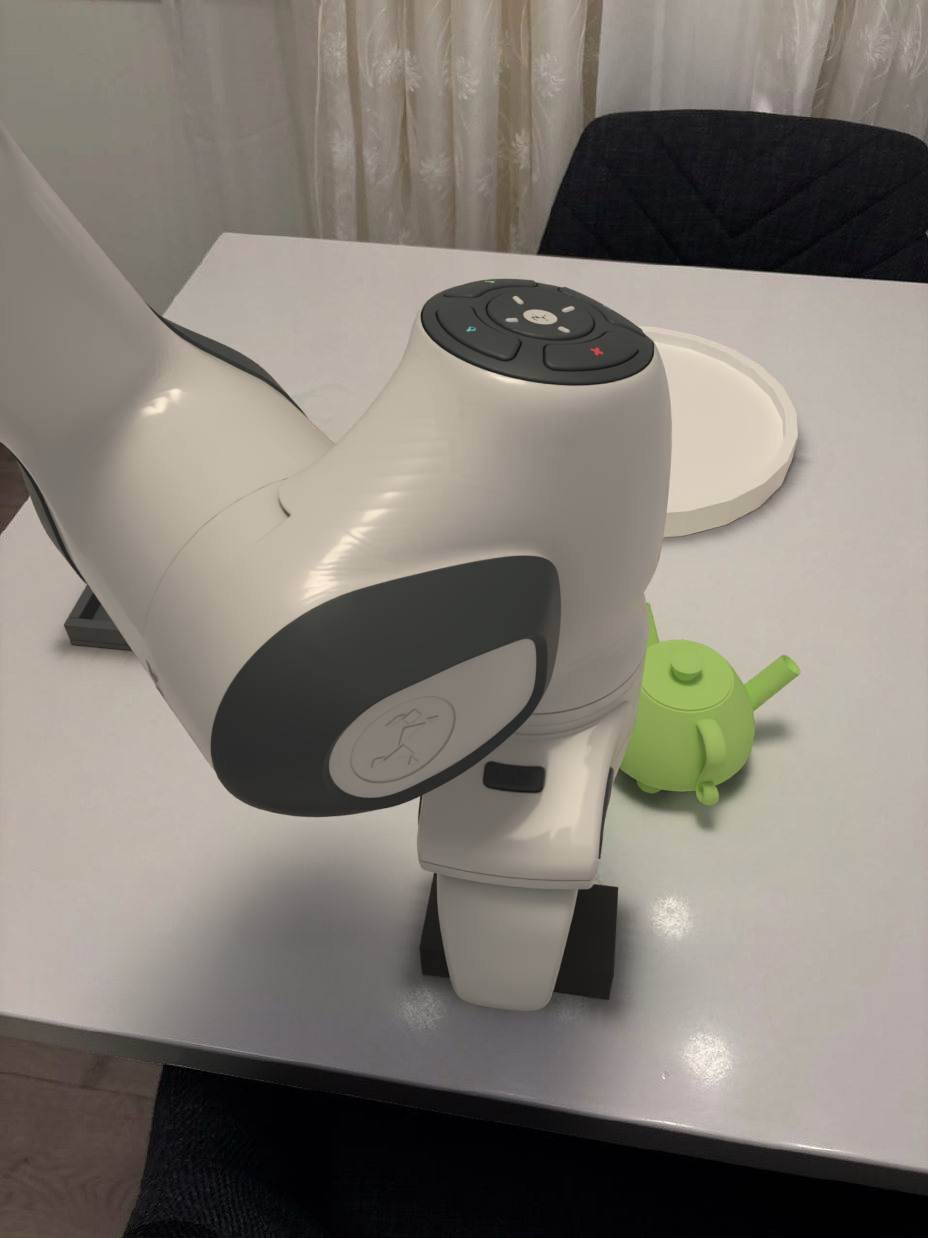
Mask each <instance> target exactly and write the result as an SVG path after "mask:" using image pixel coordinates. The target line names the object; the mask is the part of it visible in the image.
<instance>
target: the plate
mask: <svg viewBox="0 0 928 1238" xmlns="http://www.w3.org/2000/svg"><path fill="white" fill-rule="evenodd" d="M637 326H638V327H639V328H641V329H642V331H643V333H644V334H646V335H647V336H648V337H649V338H650V339H651V340H652V341H653V342H654V343H655V345H656V347H657V349H658V351H659V353H660V356H661V359H662V361H663V364H664V367H665V372H666V376H667V380H668V386H669V393H670V401H671V413H672V456H671V473H670V486H669V496H668V505H667V513H666V522H665V529H664V536H663V538H672V537H685V536H690V535H693V534H696V533H700V532H705V531H708V530H711V529H716V528H719V527H723V526H727V525H729V524H730V523H732V522H734V521H736V520H738V519H740V518H742V517H744V516H746V515H747V514H749V513H752V512H754V511H755V510H757V509H759V508H760V507H762V505H763V504H764V503H765V502H767V500H769V498H770V497H771V496H772V495H773V494H774V493H776V492H777V490H778V489H780V488H781V486H782V485H783V483H784V480H785V478H786V476H787V473H788V471H789V468H790V466H791V463H792V461H793V458H794V453H795V450H796V446H797V442H798V437H799V431H798V416H797V410H796V408H795V405H794V403H793V402H792V400H791V398H790V397H789V395H788V392H787V391H786V389H785V387H784V386H783V385H782V384H781V383H780V382H779V381H778V380H777V379H776V378H775V377H773V375H772V374H770V372H768V371H767V370H766V368H764V367H763V366H762V365H761V364H759V363H757V362H756V361H754V360H752V359H751V358H749V357H747V356H745V355H744V354H742V353H740V352H739V351H737V350H735V349H734V348H732V347H729V346H726V345H724V344H721V343H719V342H716V341H713V340H710V339H708V338H705V337H703V336H700V335H696V334H692V333H688V332H683V331H678V330H673V329H669V328H663V327H659V326H658V327H657V326H647V325H645V326H644V325H637Z"/></svg>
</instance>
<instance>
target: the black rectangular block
mask: <svg viewBox="0 0 928 1238" xmlns="http://www.w3.org/2000/svg"><path fill="white" fill-rule="evenodd" d="M431 881H432V882H431V885H430V892H429V895H428V896H429V897H428V900H427V905H426V911H425V916H424V920H423V921H424V922H423V928H422V931H421V937H420V941H419V947H418V948H419V957H420V965H421V966H420V968H421V974H422V976H430V977H437V978H445V979H450V975H449V970H448V966H447V961H446V957H445V951H444V946H443V940H442V935H441V929H440V922H439V914H438V903H437V873H433V876H432V880H431ZM618 902H619V887H618V886H612V885H605V884H597V883H594V885H593V886H592V887H591V888H590V889H578V893H577V898H576V903H575V908H574V912H573V917H572V921H571V925H570V929H569V933H568V937H567V941H566V945H565V949H564V953H563V957H562V961H561V965H560V969H559V972H558V976H557V979H556V983H555V987H554V990H553V993H555V994H556V993H557V994H564V995H570V996H571V995H572V996H577V997H578V996H579V997H587V998H593V999H601V1000H607V1001H608V1000H610V998H611V992H612V988H613V981H614V976H615V960H616V959H615V958H616V942H617V941H616V940H617V921H618Z"/></svg>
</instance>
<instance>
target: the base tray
mask: <svg viewBox="0 0 928 1238" xmlns="http://www.w3.org/2000/svg"><path fill="white" fill-rule="evenodd" d="M63 627H64V630H65V631H66V634H67V636H68V639H69V643H70V644H71V645H73V646H74V645H75V646H85V647H93V648H104V649H115V650H124V651H125V650H126V651H132V649H131V648H130V646H129V645H128V643H127V642H126V640H125V639H124V637H123V636H122V634H121V633H120V631H119V630H118V628H117V627H116V625H115V624H114V622H113V621H112V619H111V618H110V616H109V615H108V613H107V612H106V610H105V609H104V607H103V606H102V604H101V603H100V601H99V600H98V599H97V597H96V596H95V594H94V593H93V591H92V590H91V588H90V587H89V586H88V585H87V584H86V585H85V587H84V589H83V591H82V592H81V594H80V596H79V598H78V600H77V601H76V603H75V605H74V606H73V608H72V609H71V611H70V613H69V615H68V617H67V618H66V619H65V621H64V623H63Z"/></svg>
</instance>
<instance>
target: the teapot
mask: <svg viewBox="0 0 928 1238" xmlns="http://www.w3.org/2000/svg"><path fill="white" fill-rule="evenodd" d="M646 603H647V607H648V612H649V639H648V647H647V653H646V659H645V666H644V673H643V681H642V688H641V695H640V702H639V708H638V715H637V721H636V724H635V728H634V730H633V733H632V735H631V737H630V739H629V742H628V746H627V749H626V752H625V755H624V758H623V760H622V763H621V765H620V768H619V770H621V771H622V772H623V773H625V774H627V776H629V777H631V778H632V779H634V780H636V784H637V787H638V788H639V789H640V790H641V791H642V792H644V793H647V794H657V793H659V792H661V791H662V790H663V791H670V792H695V795H696V799H697V800H698V801H699V802H700V803H701V804H703V805H705V806H712V805H715V804H717V803H718V802H719V800H720V793H719V790H718V788H717V786H718V785H720V784H722V783H724V782H726V781H727V780H729V779H731V778H732V777H734V775H736V774H737V773H738V772H739V771H740V770H741V769H742V768H743V767H744V766H745V764H746V762H747V761H748V759H749V758H750V755H751V753H752V749H753V745H754V741H755V734H756V733H755V730H756V728H755V727H756V723H755V715H754V712H755V711H757V710H758V709H759V708H760V707H761V706H763V705H764V704H765V703H767V702H768V701H769V700H770V699H772V698H773V697H774V696H775V695H776V694H777V693H779V692H780V691H781V690H782V689H784V688H785V687H786V686H787V685H789V684H790V683H791V682H793V681H794V680H795V679H796V678H797V677H798V676H800V675H801V669H800V667H799V666H798V664H797V662H795V661H794V660H793V658H791V657H790V656H788V655H787V654H781V655H780V656H779V657H778V658H776V659H775V660H774V661H772V662H771V663H770V664H769V665H767V666H766V667H765V668H764V669H762V670H761V671H760V672H758V673H757V674H756V675H754V676H753V677H752V678H751V679H749V680H748V681H747V682H745V683H744V682H743V681H742V679H741V678H740V675H738V673H737V671H736V670H735V669H734V667H733V666H732V665H731V663H730V662H729V661H728V660H727V659H726V658H725V657H724V656H723V655H721V653H719V652H718V651H717V650H715V649H714V648H711V647H710V646H709V645H706V644H703V643H700V642H698V641H694V640H688V639H668V640H664V641H660V638H659V635H658V630H657V626H656V622H655V618H654V615H653V610H652V606H651V602H646Z"/></svg>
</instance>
